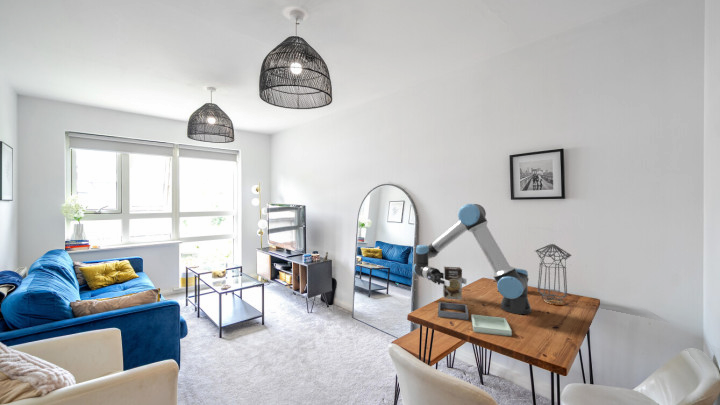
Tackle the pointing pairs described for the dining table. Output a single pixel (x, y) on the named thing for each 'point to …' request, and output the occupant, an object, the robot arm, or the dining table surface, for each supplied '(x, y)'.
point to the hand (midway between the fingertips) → (457, 282)
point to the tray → (490, 325)
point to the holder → (453, 314)
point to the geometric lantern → (552, 267)
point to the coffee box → (453, 283)
